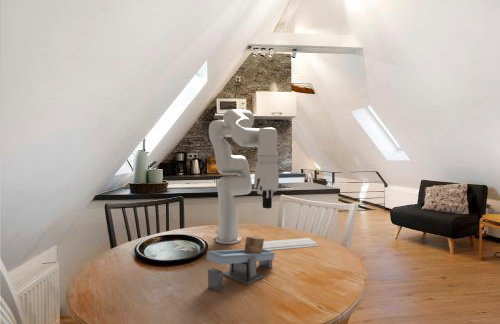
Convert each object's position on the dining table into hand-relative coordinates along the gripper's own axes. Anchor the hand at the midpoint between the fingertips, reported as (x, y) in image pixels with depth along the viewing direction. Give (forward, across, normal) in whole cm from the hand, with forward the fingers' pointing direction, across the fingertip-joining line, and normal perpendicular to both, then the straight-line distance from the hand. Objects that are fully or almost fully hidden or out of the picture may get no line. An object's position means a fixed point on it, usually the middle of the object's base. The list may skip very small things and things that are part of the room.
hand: (267, 207), depth 120 cm
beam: (+16, +13, 0) cm, 21 cm away
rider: (+16, +8, 0) cm, 18 cm away
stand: (+23, +13, 0) cm, 26 cm away
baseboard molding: (+24, -25, -9) cm, 35 cm away
